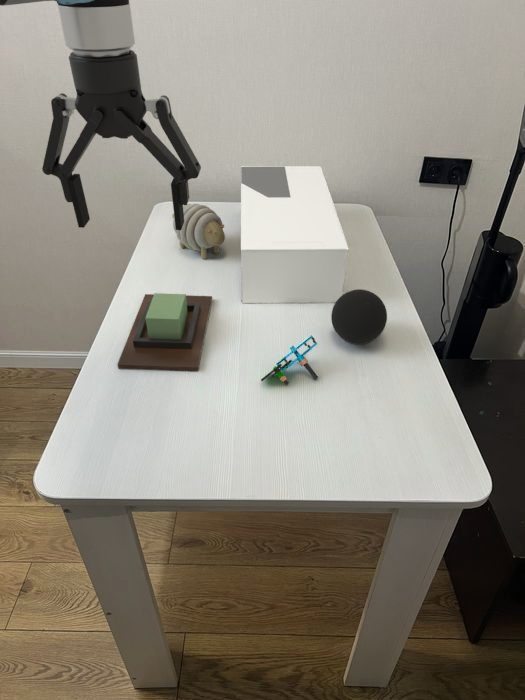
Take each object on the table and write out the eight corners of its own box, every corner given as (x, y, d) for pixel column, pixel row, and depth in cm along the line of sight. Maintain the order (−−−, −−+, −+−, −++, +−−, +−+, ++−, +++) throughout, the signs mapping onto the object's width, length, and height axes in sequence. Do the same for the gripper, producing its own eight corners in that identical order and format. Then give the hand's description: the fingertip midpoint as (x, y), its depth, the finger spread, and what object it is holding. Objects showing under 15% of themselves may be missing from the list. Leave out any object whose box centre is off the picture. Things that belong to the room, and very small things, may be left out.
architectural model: (241, 210, 135) (240, 165, 127) (316, 210, 136) (320, 165, 128) (241, 303, 101) (240, 249, 93) (342, 302, 102) (349, 248, 94)
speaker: (319, 328, 95) (324, 284, 88) (364, 318, 98) (372, 274, 91) (344, 360, 88) (351, 315, 81) (392, 348, 91) (402, 303, 84)
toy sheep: (209, 269, 111) (206, 223, 104) (158, 246, 119) (152, 203, 112) (239, 251, 118) (238, 207, 111) (188, 231, 126) (184, 189, 119)
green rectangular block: (181, 340, 90) (178, 319, 87) (149, 339, 90) (145, 318, 87) (188, 315, 96) (185, 294, 93) (157, 314, 96) (154, 293, 93)
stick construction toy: (302, 338, 89) (315, 327, 81) (326, 368, 89) (341, 359, 81) (252, 378, 85) (260, 370, 78) (277, 409, 85) (288, 405, 78)
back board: (198, 371, 85) (196, 360, 84) (118, 368, 85) (115, 358, 84) (212, 300, 102) (211, 290, 100) (145, 298, 102) (144, 288, 101)
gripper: (215, 46, 58) (223, 215, 72) (7, 42, 58) (54, 210, 72) (208, 58, 52) (217, 239, 66) (-23, 53, 53) (34, 234, 66)
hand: (132, 224), depth 69 cm, fingers open, 13 cm apart
